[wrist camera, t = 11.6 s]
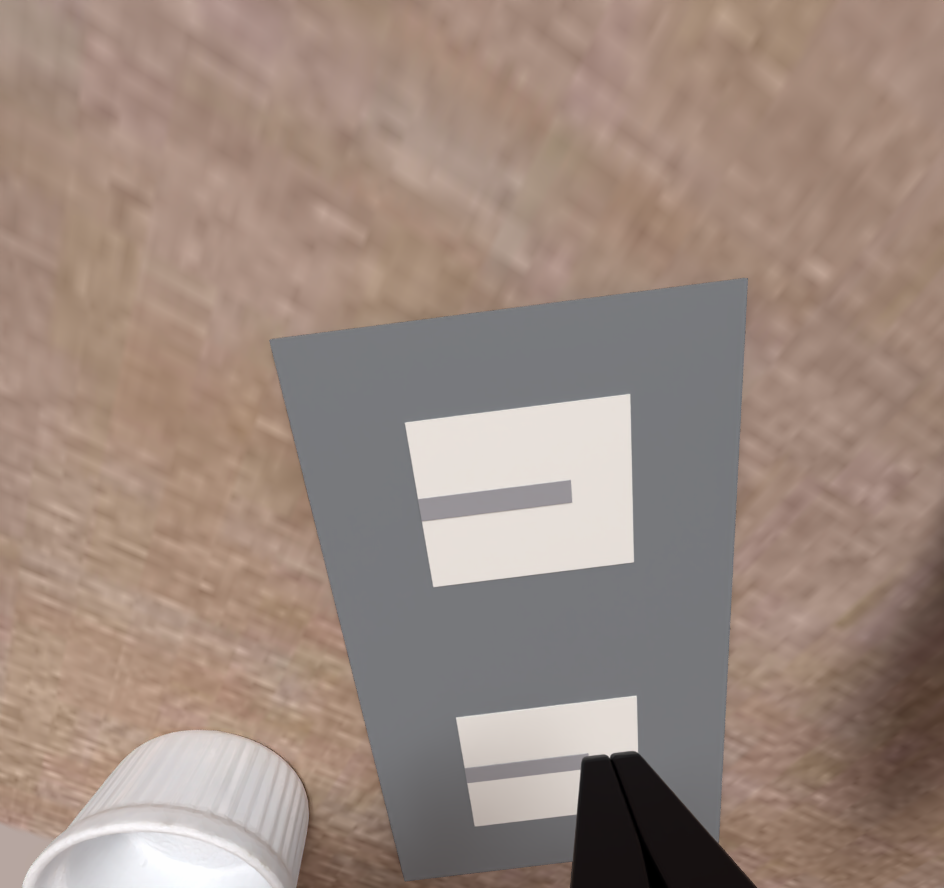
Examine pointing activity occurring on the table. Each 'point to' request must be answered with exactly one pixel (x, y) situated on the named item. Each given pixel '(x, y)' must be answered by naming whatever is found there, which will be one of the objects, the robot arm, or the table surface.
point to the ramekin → (185, 820)
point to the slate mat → (528, 554)
